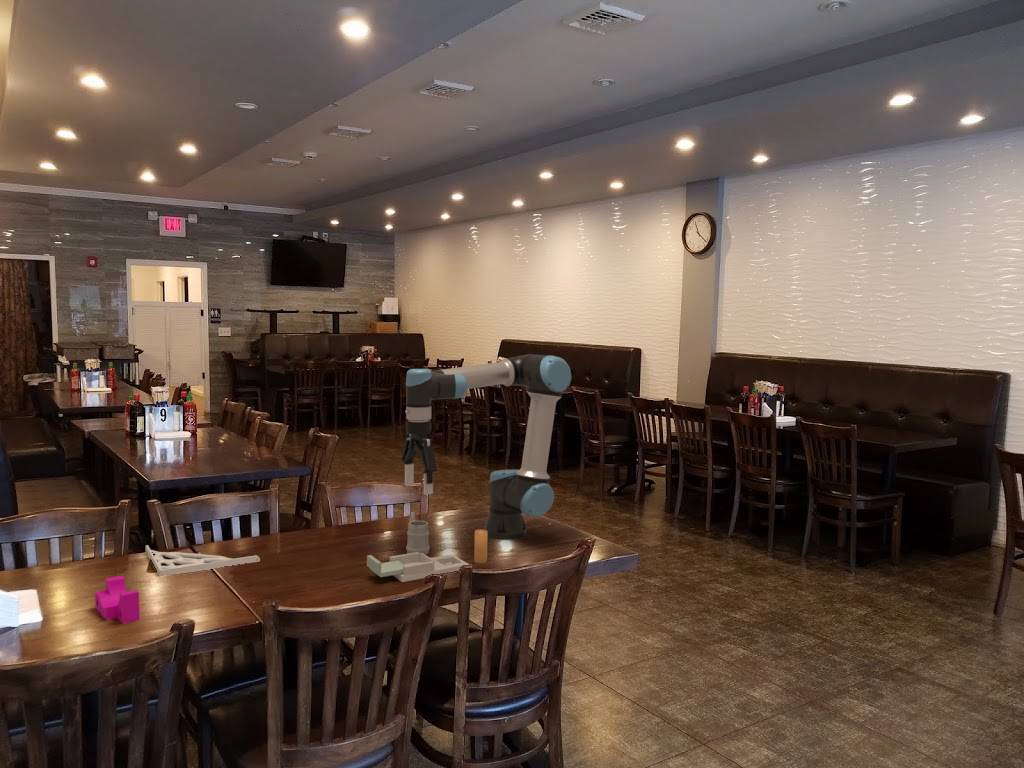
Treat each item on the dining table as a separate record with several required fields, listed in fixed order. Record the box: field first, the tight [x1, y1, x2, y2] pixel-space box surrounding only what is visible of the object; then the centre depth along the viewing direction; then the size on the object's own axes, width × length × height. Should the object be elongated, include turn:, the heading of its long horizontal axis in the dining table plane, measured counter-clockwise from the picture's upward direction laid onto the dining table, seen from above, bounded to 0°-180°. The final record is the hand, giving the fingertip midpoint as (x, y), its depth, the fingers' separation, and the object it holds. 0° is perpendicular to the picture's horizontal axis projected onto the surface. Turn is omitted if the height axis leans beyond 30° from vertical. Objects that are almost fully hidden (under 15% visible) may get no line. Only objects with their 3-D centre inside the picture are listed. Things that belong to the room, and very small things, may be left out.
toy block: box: [94, 575, 140, 624], centre depth 189 cm, size 15×6×8 cm, turn 42°
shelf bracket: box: [145, 544, 261, 577], centre depth 236 cm, size 28×28×3 cm
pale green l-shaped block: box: [366, 554, 405, 578], centre depth 219 cm, size 10×8×4 cm
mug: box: [405, 511, 431, 556], centre depth 245 cm, size 8×12×12 cm, turn 27°
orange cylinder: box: [473, 528, 488, 564], centre depth 235 cm, size 4×4×10 cm
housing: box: [388, 552, 470, 583], centre depth 226 cm, size 22×11×4 cm, turn 123°
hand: (418, 489), depth 229 cm, fingers open, 13 cm apart
